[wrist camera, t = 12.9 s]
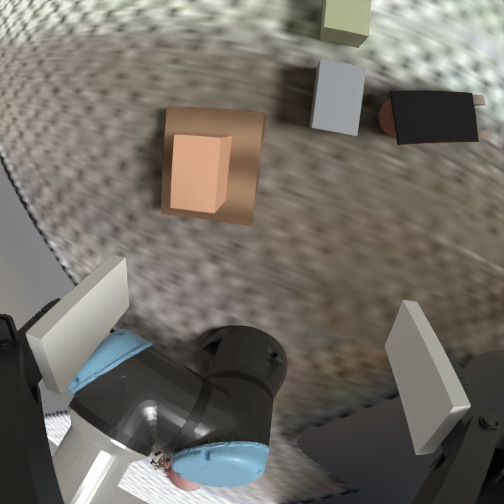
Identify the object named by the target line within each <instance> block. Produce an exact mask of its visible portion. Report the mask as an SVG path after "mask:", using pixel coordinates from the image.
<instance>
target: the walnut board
mask: <svg viewBox="0 0 504 504" xmlns="http://www.w3.org/2000/svg"><path fill="white" fill-rule="evenodd" d="M265 121H266V114H265V113H260V112H250V111H240V110H228V109H214V108H196V107H167V112H166V123H165V136H164V151H163V169H162V192H161V214H168V215H176V216H183V217H191V218H198V219H206V220H213V221H220V222H228V223H235V224H242V225H249V226H251V225H252V222H253V220H254V213H255V204H256V196H257V187H258V179H259V171H260V162H261V154H262V146H263V137H264V129H265ZM184 133H204V134H217V135H228V136H232V140H231V149H230V159H229V170H228V180H227V191H226V200H225V202H224V203H223V204H222V205H221V206H220V207H219V209H218V210H217V211H216V212H215V213H208V212H200V211H192V210H184V209H176V208H170V203H171V179H172V161H173V146H174V135H175V134H184Z"/></svg>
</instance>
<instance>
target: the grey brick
mask: <svg viewBox="0 0 504 504" xmlns="http://www.w3.org/2000/svg"><path fill="white" fill-rule="evenodd" d="M365 72H366V68H364V67H360V66H355V65H351V64H346V63H341V62H336V61H331V60H325V59H320V61H319V64H318V66H317V69H316V77H315V86H314V94H313V101H312V109H311V117H310V124H309V128H314V129H320V130H326V131H331V132H337V133H342V134H347V135H352V136H357V133H358V126H359V120H360V112H361V105H362V97H363V89H364V81H365Z"/></svg>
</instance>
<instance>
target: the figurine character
mask: <svg viewBox="0 0 504 504" xmlns="http://www.w3.org/2000/svg"><path fill="white" fill-rule="evenodd" d="M389 93H390V100H388V101H386V102H385V103H384V104H383V105H382V106H381V108H380V110H379V115H378V119H379V123H380V126H381V128H382V129H383V131H384V132H385V133H386V134H387V135H389V136H390V137H392V138H395V139H397V145H403V144H420V143H444V142H479V141H478V139H489V131H488V130H477V122H476V115H475V108H474V106H480V105H485V100H484V96H483V95H472V93H465V92H447V91H389Z"/></svg>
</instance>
